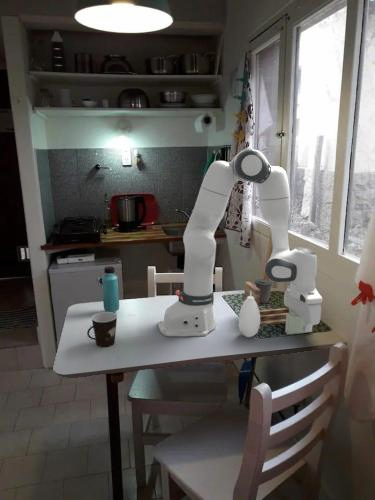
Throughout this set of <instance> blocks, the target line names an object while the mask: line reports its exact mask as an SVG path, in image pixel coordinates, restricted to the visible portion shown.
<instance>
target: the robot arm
mask: <svg viewBox="0 0 375 500" xmlns="http://www.w3.org/2000/svg"><path fill="white" fill-rule="evenodd" d="M239 181H244V182H249V183H254V184H255V185H256V188H257V191H258V192H257V193H258V204H259V205H258V206H259V210H260V213H261V217H262V219H263V221H265V222H267V224H268V226H269V228H270V233H271V243H272V249H271V250H272V252H271V254H270V256H269V259H268V260H267V262H266V265H265V267H264V269H265V274H266V277H267V278H268V279H269V280H270V281H271V282H276V283H287V282H289V283H290V281H291V283H290V284H287V286H286V289H285V292H284V296H283V305H284V306H285V308H289V313H290V314H297V315H298V316H299V317H300V318H302V319H303V320H304V321H305V326H303V330H304V331H305V332H306V333H310V332H309V328H310V326H311V325H313V326H314V325H319V324H320V322H321V317H322V305H321V304H322V303H323V297H322V296H321V294H320V293H319V291H318V290H317V288H316V280H315V279H316V276H317V271H318V258H317V257H318V256H317V254H316V252H315V251H314V250H312V249H310V248H307V247H303V246H302V247H301V246H300V247H299V246H298V247H295V248H294V249H291V247H290V239H289V238H290V237H289V227H288V226H289V225H288V224H289V218H290V213H291V192H290V191H291V190H290V185H289V184H290V183H289V180H288V174H287V172H286V170H285V169H284V168H282V167H280V166H275V165H273V166H272V165H271V164H270V163H269V161H268V160H267V158H266V156H265V155H264V154H263V153H262V152H261V151H259V150H257V149H253V148H246V149H242V150H241V151H239V152H238V153H236V154H235V155H234V156H233V158H232V159H230V160H229V161H225V160H215V161H213V162H211V164H210V165H209V167H208V169H207V171H206V173H205V175H204V178H203V179H202V183H201V185H200V188H199V191H198V195H197V198H196V200H195V205H194V207H193V209H192V212H191V214H190V217H189V219H188V221H187V225H186V228H185V230H184V233H183V236H182V241H183V244H184V265H183V267H184V269H183V290H182V291H180V290H179V289H177V290H176V291H175V292H174V293H175V295H176V297H178V300H177V301H175V302H174V303H172V304H171V305H170V306H168V307H167V308H166V309H165V312H164V315H163V318H161V319H159V321H158V323H157V327H158V330H159V333H161V334H162V335H163V336H165V337H205V336H207V335H209V333H210V332H211V331H213V330H215V328H216V327H217V326H216V325H217V324H216V321H215V317H214V309H213V307H214V301H215V297H214V295H215V294H214V289H213V283H214V268H215V262H216V253H217V251H216V250H217V241H216V239H215V232H216V231H217V228H218V226H219V224H220V223H221V220H223V218H224V215H225V213H226V209H227V207H228V203H229V200H230V197H231V194H232V191H233V188H234V186H235V185H236V183H237V182H239Z"/></svg>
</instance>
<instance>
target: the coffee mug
mask: <svg viewBox="0 0 375 500" xmlns="http://www.w3.org/2000/svg"><path fill="white" fill-rule="evenodd" d="M117 321H118V315H117V313H115V312H106V311H103V312H98V313H95V314H93V315H92V317H91V322H92V326H90V327H89V328H88V329H87V332H86V334H87V337H88V338H89V339H90V340H94V341H95V344H96V347H99V348H101V349H102V348H105V349H106V348H109V347H112V346H114V345H115V342H116V333H117V331H116V330H117ZM92 329H93V333H94V337H92V336H91V335H90V331H92Z"/></svg>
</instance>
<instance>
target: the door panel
mask: <svg viewBox="0 0 375 500" xmlns="http://www.w3.org/2000/svg"><path fill="white" fill-rule="evenodd" d="M303 326H305V321H304V320H303V319H302V318H300V317H299V316H298V315H297V314H290V315H286V323H285V327H284V328H285V329H284V333H286V334H287V335H288V334H289V335H295V334H306V333H307V332H305V331H304V330H303ZM313 326H314V325H311V326H310V328H309V332H308V333H313Z"/></svg>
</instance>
